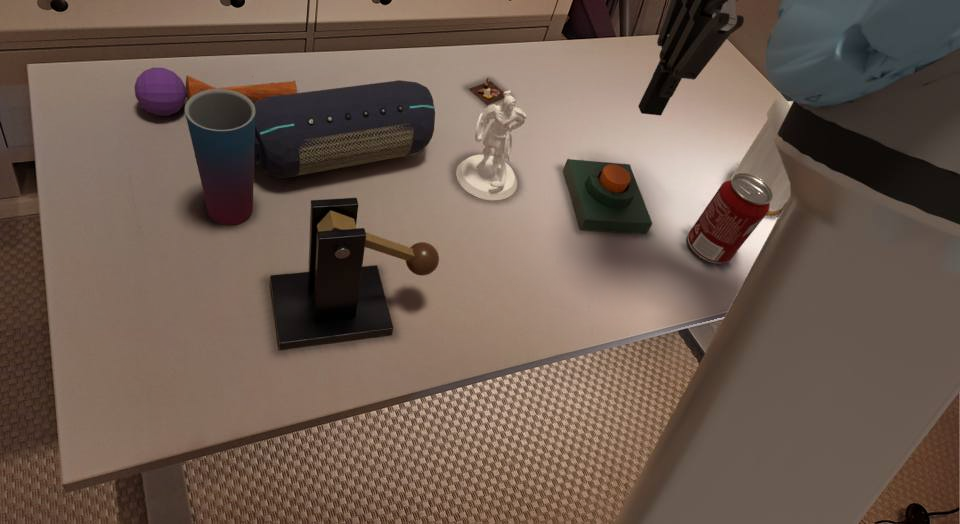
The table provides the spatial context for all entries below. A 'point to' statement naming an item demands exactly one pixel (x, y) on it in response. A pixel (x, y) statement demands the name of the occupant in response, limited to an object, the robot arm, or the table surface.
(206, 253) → the table surface
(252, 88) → the kendama
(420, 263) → the switch lever
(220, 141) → the cup
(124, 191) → the table surface
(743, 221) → the soda can
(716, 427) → the robot arm
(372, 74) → the table surface
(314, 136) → the portable speaker
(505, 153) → the figurine
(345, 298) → the switch bracket
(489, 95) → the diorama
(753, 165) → the cup
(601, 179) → the button
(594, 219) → the button box
